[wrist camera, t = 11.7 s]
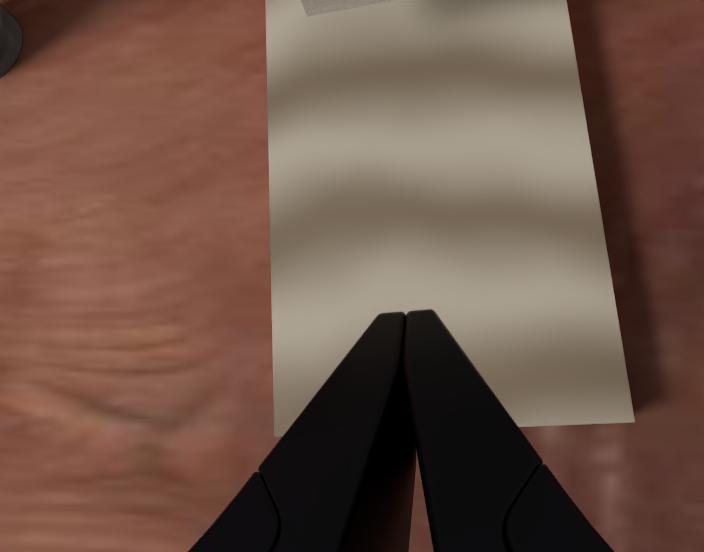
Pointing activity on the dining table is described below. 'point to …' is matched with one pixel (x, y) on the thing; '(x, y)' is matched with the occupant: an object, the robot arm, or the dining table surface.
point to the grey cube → (334, 5)
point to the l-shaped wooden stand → (440, 199)
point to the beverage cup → (8, 41)
